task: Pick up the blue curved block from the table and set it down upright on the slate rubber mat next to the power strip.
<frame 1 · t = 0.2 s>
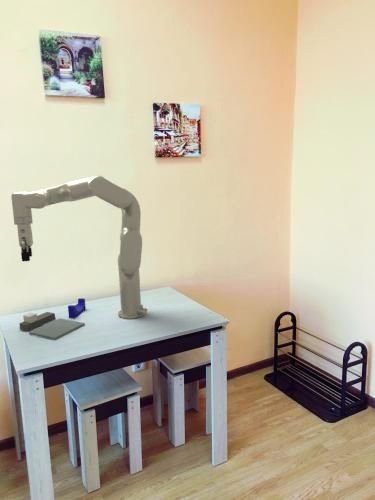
hand: (27, 258, 184), 31 cm above the table, tool pointing down, fingers open, 9 cm apart
slate mat: (57, 329, 183), on the table
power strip: (38, 324, 190), on the table
blue curved block: (76, 314, 203), on the table
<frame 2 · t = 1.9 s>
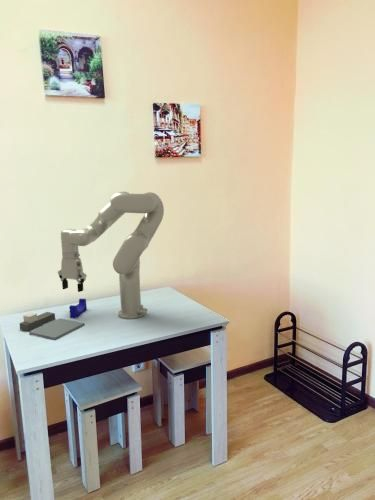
hand: (72, 289, 200), 12 cm above the table, tool pointing down, fingers open, 9 cm apart
nothing on the table moved.
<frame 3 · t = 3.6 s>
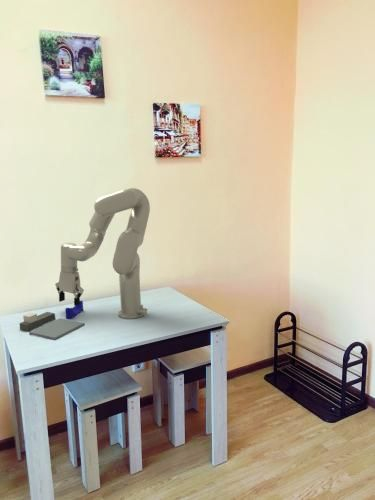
hand: (69, 302, 202), 5 cm above the table, tool pointing down, fingers open, 9 cm apart
blue curved block: (73, 316, 202), on the table, touching gripper
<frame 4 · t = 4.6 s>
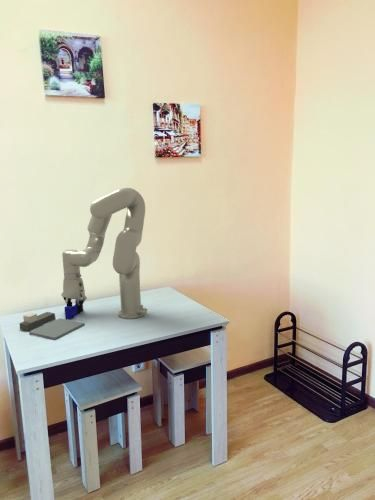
hand: (75, 311, 202), 1 cm above the table, tool pointing down, fingers open, 5 cm apart
blue curved block: (73, 315, 201), on the table
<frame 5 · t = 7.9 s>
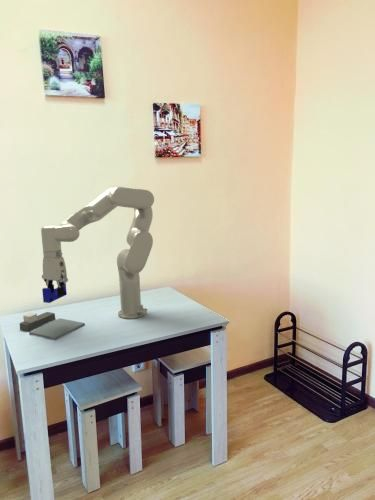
hand: (56, 294, 182), 16 cm above the table, tool pointing down, fingers closed on blue curved block, 5 cm apart
blue curved block: (54, 298, 180), point 14 cm above the table, touching gripper
when the fingers open (4 cm above the table, at t = 10.7 s): blue curved block drops 1 cm, resting on slate mat.
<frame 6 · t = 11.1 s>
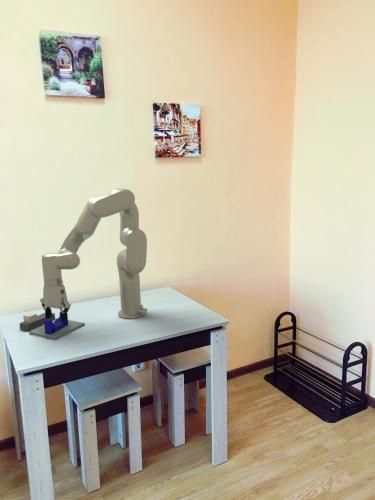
hand: (56, 319, 182), 5 cm above the table, tool pointing down, fingers open, 9 cm apart
blue curved block: (55, 329, 181), point 1 cm above the table, touching slate mat
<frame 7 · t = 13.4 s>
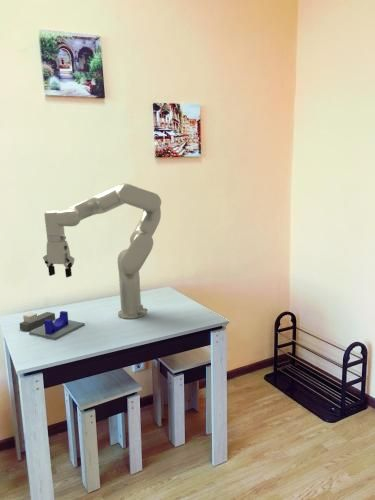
hand: (60, 275, 187), 22 cm above the table, tool pointing down, fingers open, 9 cm apart
nothing on the table moved.
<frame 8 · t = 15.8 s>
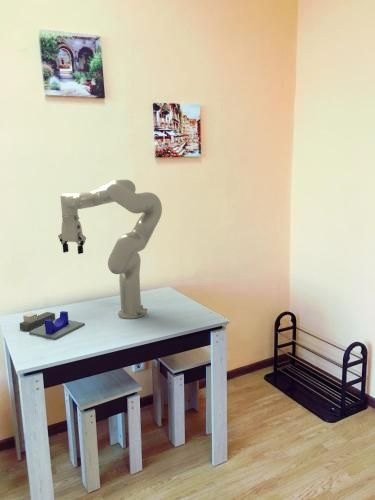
hand: (73, 252, 207), 28 cm above the table, tool pointing down, fingers open, 9 cm apart
nothing on the table moved.
at the end: blue curved block inside the target area on the slate mat (1.7 cm from its centre), point 0.8 cm above the slate mat's base; blue curved block tilted 0°; the gripper is holding nothing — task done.
